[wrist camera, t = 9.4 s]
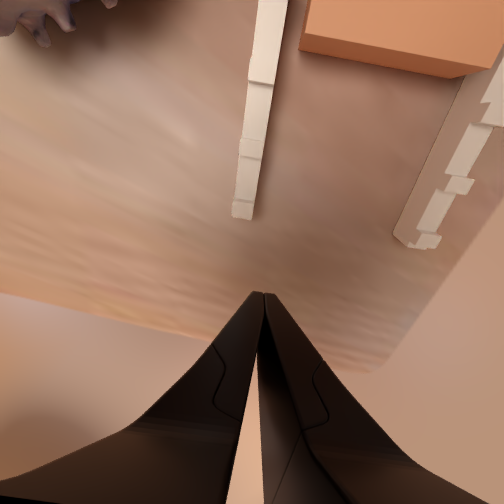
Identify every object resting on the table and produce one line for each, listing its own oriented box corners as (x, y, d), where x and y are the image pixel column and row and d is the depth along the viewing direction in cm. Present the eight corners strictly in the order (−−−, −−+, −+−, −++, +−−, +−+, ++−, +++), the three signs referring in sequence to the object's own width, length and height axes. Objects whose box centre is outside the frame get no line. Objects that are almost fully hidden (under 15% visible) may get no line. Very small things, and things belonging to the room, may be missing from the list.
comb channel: (639, -217, 11) (1069, -612, 5) (409, 236, 21) (463, 279, 15) (299, -290, 10) (338, -802, 5) (234, 206, 21) (222, 238, 15)
